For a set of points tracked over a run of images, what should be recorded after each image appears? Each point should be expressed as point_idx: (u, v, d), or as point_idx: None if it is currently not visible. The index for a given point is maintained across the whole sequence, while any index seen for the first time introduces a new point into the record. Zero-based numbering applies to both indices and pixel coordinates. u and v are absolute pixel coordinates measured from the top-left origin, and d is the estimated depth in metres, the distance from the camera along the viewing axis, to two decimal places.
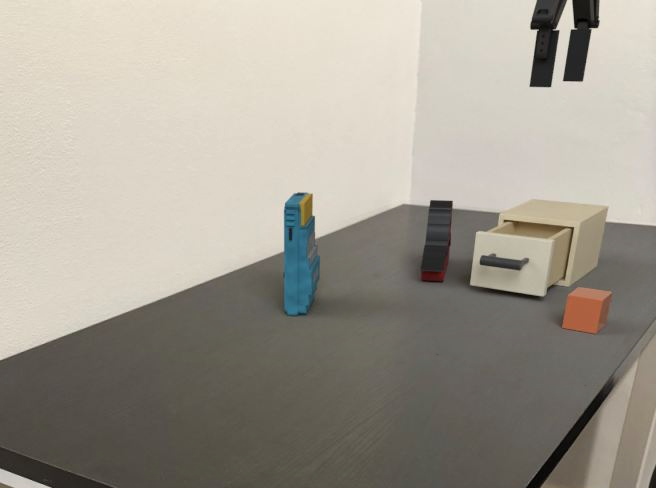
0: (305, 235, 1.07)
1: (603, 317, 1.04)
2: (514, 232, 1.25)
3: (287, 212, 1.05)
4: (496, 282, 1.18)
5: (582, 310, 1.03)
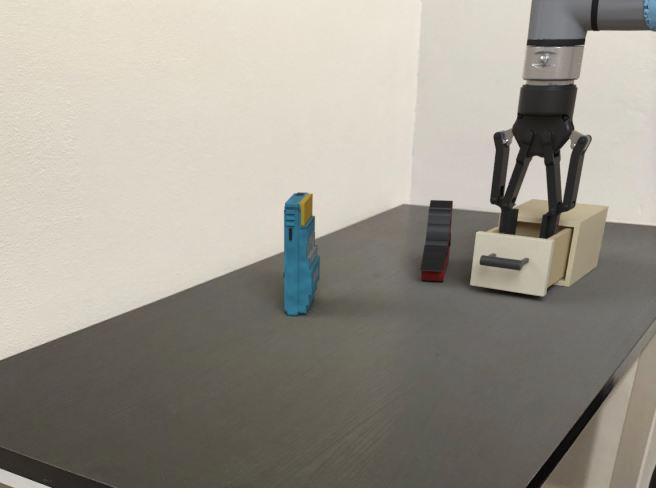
0: (305, 235, 1.07)
1: None
2: None
3: (287, 212, 1.05)
4: (496, 282, 1.18)
5: None
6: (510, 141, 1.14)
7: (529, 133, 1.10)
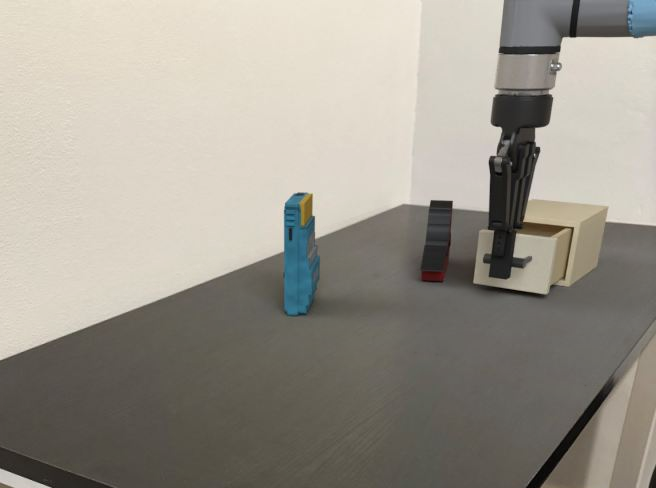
0: (305, 235, 1.07)
1: None
2: (517, 231, 1.26)
3: (287, 212, 1.05)
4: (499, 280, 1.19)
5: None
6: None
7: (528, 146, 1.03)
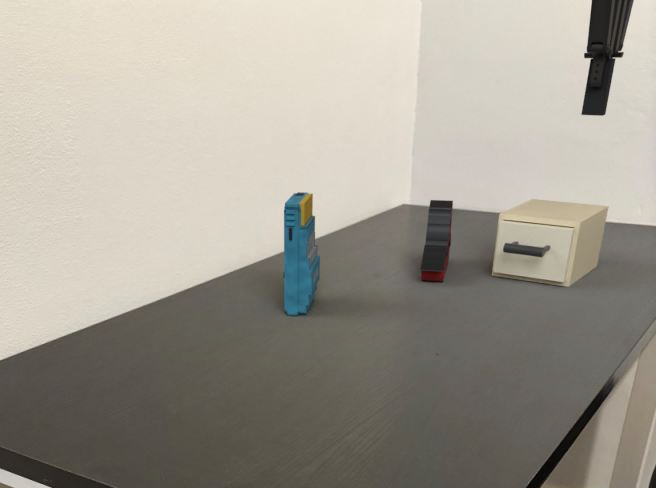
0: (305, 235, 1.07)
1: None
2: None
3: (287, 212, 1.05)
4: (518, 269, 1.24)
5: None
6: None
7: None
